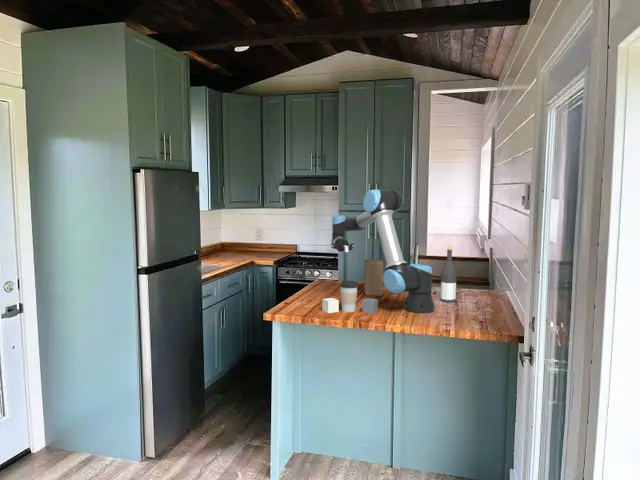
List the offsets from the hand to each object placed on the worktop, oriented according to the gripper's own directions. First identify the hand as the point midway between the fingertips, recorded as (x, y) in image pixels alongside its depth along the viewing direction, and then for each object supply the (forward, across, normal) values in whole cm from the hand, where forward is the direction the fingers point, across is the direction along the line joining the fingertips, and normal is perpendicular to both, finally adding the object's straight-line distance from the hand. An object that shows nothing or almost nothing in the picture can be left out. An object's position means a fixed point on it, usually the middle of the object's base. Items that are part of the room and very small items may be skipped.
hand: (346, 249), depth 247 cm
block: (-28, -20, -30) cm, 46 cm away
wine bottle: (-9, -58, -30) cm, 66 cm away
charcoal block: (+11, -10, -30) cm, 34 cm away
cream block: (+9, +9, -30) cm, 33 cm away
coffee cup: (+8, 0, -30) cm, 31 cm away
